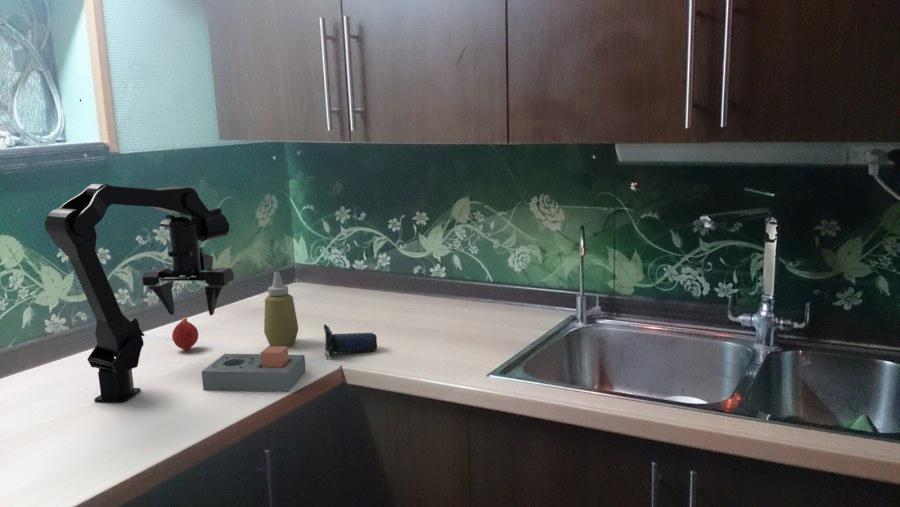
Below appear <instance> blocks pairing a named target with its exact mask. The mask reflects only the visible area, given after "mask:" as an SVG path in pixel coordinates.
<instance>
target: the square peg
mask: <svg viewBox="0 0 900 507" xmlns="http://www.w3.org/2000/svg"><path fill="white" fill-rule="evenodd" d="M260 354H261V364H262V368H284V367H285V366H286V365H287V364H288V363H289V360H288V355H289V347H287V346H270V345H269V346H267V347H266V348H264V349H263V350H262V351H261V352H260Z"/></svg>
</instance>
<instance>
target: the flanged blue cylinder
mask: <svg viewBox="0 0 900 507" xmlns="http://www.w3.org/2000/svg"><path fill="white" fill-rule="evenodd" d="M323 329H324V335H325V342H324V343H325V344H324V346H325V347H324V350H325V351H324V356H325V355H326V359H327V358H329V357H330V358H329V360H332V359H331V358H332V357H333V354H334V353H336V354H349V353H350V354H353V353H354V352H357V353H369V352H368V351H373V352H374V351H377V349H378V342H377V340H378V338H377V337H378V336H377V335H376V334H375V333H374V332H354V333H353V332H352V333H334V334H333V332H332V330H331V328H330V327H329V326H328V325H327V324H324V325H323Z"/></svg>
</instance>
